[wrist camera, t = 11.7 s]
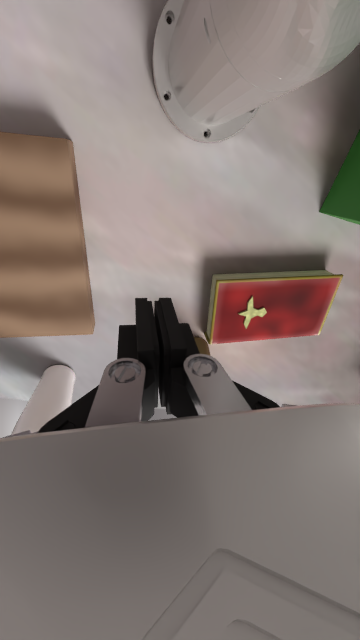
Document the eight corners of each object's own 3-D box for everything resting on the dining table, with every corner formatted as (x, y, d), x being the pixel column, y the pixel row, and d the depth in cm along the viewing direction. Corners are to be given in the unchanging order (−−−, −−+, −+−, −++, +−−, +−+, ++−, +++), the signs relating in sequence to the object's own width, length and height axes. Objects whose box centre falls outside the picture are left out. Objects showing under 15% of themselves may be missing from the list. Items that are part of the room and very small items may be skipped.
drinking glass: (76, 390, 46) (56, 473, 34) (36, 384, 44) (-1, 471, 31) (84, 364, 43) (66, 443, 31) (42, 356, 41) (4, 439, 29)
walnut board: (-100, 123, 24) (-126, 118, 22) (72, 141, 27) (66, 138, 25) (-17, 326, 37) (-28, 338, 34) (95, 323, 40) (92, 334, 37)
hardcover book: (305, 325, 48) (319, 337, 45) (203, 333, 45) (209, 347, 42) (326, 266, 42) (344, 275, 39) (209, 271, 39) (217, 281, 35)
